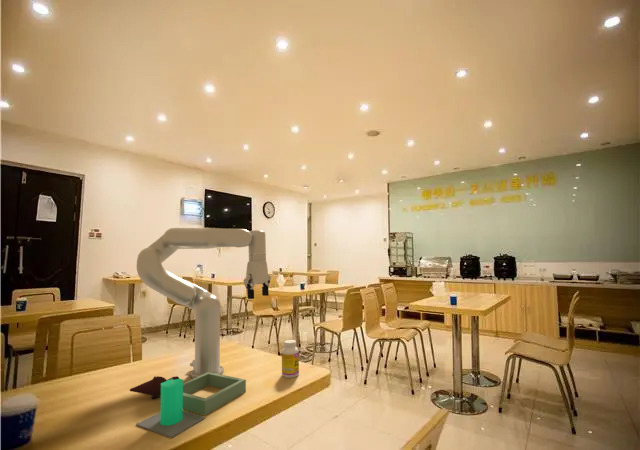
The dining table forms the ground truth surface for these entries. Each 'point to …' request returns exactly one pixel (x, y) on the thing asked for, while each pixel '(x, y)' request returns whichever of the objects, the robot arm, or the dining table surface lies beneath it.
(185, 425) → the rubber mat
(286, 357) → the supplement bottle
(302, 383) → the dining table surface
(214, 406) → the box
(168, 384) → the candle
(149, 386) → the icecream
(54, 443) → the dining table surface
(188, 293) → the robot arm
